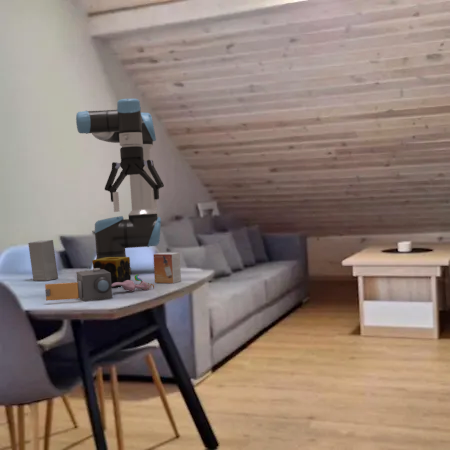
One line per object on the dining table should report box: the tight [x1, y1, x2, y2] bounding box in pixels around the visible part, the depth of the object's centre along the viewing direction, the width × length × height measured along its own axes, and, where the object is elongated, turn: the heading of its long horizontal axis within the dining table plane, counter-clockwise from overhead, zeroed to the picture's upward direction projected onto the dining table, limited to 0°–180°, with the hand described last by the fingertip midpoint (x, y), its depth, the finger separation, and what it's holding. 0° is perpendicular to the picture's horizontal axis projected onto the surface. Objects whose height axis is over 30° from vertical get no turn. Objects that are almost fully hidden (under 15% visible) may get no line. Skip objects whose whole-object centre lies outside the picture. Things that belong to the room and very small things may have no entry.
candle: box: [91, 256, 132, 289], centre depth 236 cm, size 10×10×10 cm
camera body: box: [75, 268, 113, 302], centre depth 212 cm, size 14×9×9 cm, turn 21°
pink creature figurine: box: [112, 274, 155, 293], centre depth 221 cm, size 6×6×15 cm
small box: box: [153, 252, 182, 284], centre depth 237 cm, size 8×6×10 cm
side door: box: [44, 281, 82, 301], centre depth 205 cm, size 11×2×5 cm, turn 91°
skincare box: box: [27, 239, 59, 282], centre depth 264 cm, size 8×7×16 cm
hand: (135, 210), depth 218 cm, fingers open, 13 cm apart
